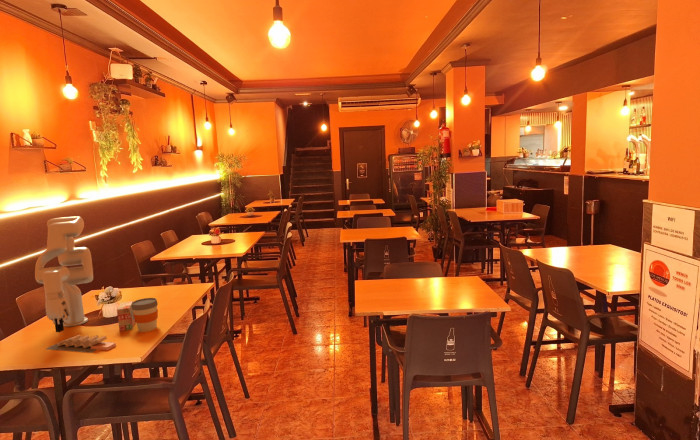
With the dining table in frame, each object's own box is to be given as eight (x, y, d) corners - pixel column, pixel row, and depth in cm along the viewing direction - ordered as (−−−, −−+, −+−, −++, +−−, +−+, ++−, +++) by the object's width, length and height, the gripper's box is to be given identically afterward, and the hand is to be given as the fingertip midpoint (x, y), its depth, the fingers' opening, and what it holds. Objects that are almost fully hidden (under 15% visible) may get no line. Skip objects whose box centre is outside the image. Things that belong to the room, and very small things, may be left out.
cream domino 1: (56, 343, 226) (71, 338, 223) (65, 339, 231) (79, 334, 228) (58, 346, 226) (72, 341, 223) (66, 342, 231) (81, 337, 228)
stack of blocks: (126, 318, 264) (123, 297, 262) (138, 317, 266) (135, 296, 264) (119, 331, 244) (116, 309, 242) (132, 329, 246) (129, 307, 244)
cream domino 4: (82, 345, 222) (97, 339, 219) (90, 341, 226) (105, 335, 223) (83, 348, 222) (98, 342, 219) (92, 344, 227) (106, 338, 224)
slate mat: (45, 349, 224) (44, 349, 224) (66, 340, 235) (66, 339, 235) (91, 353, 216) (91, 352, 216) (111, 343, 228) (111, 342, 228)
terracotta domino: (90, 345, 220) (107, 347, 218) (98, 341, 225) (115, 342, 222) (90, 349, 221) (108, 350, 218) (99, 344, 225) (116, 346, 223)
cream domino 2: (65, 344, 225) (79, 339, 222) (73, 340, 229) (88, 335, 226) (66, 347, 225) (81, 342, 222) (74, 343, 229) (89, 338, 226)
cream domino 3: (74, 344, 223) (88, 339, 220) (82, 340, 228) (97, 335, 225) (75, 347, 223) (90, 342, 220) (83, 343, 228) (98, 338, 225)
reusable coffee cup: (150, 323, 254) (147, 296, 252) (165, 326, 248) (162, 299, 246) (129, 331, 243) (126, 303, 241) (144, 334, 237) (141, 306, 235)
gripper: (73, 293, 227) (78, 329, 229) (49, 292, 231) (54, 327, 233) (60, 298, 219) (65, 335, 222) (35, 297, 223) (41, 333, 226)
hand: (60, 331), depth 228 cm, fingers closed
